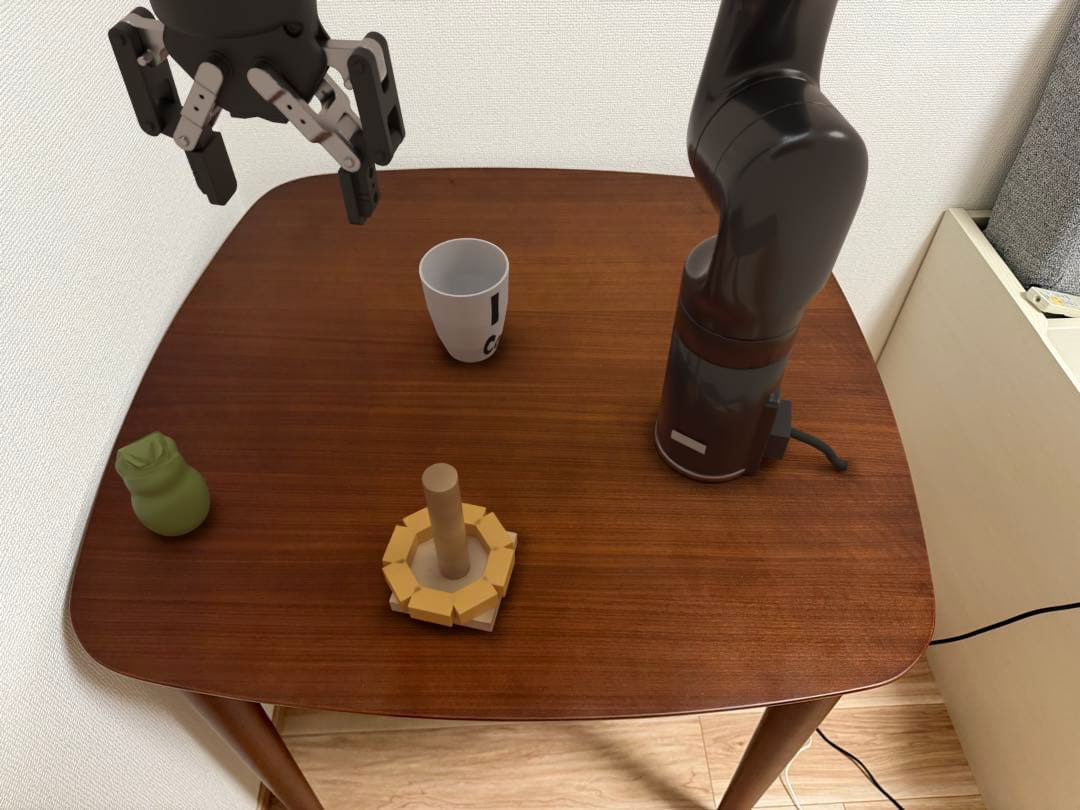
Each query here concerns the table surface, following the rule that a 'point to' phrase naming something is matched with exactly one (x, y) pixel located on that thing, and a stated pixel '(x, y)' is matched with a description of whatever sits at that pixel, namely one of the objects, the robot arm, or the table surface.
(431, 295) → the cup
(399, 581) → the ring
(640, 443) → the table surface
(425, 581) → the stand
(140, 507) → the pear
